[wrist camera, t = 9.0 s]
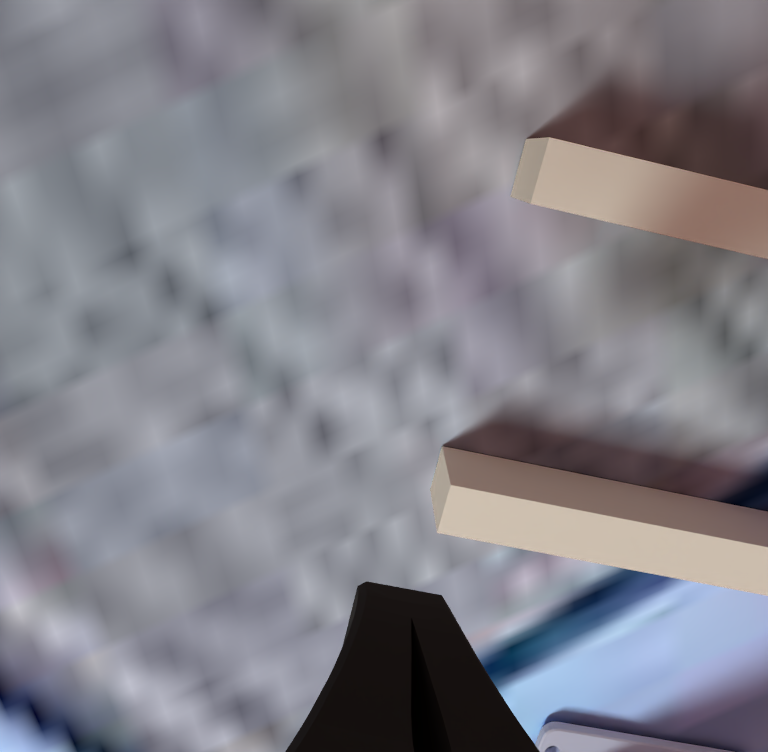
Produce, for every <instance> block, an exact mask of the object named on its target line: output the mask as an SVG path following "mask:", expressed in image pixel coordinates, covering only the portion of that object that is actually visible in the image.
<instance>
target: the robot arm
mask: <svg viewBox="0 0 768 752" xmlns="http://www.w3.org/2000/svg"><path fill="white" fill-rule="evenodd" d="M550 746H554V747H552V748H548V747H550ZM286 752H733V751H727V750H721V749H715V748H710V747H704V746H698V745H692V744H686V743H680V742H674V741H668V740H663V739H657V738H651V737H645V736H639V735H633V734H627V733H621V732H615V731H610V730H604V729H598V728H592V727H586V726H580V725H574V724H568V723H563V722H550V723H547V724H546V725H544V726H543V727H542V729H541V730H540V732H539V735H538V738H537V740H536V743H535V744H534V743H533V741H532V740H531V739H530V737H529V736H528V734H527V733H526V732H525V730H524V729H523V728H522V726H521V725H520V723H519V722H518V720H517V719H516V717H515V716H514V714H513V713H512V711H511V710H510V708H509V707H508V705H507V704H506V702H505V701H504V699H503V697H502V696H501V694H500V693H499V691H498V690H497V688H496V686H495V685H494V683H493V682H492V680H491V679H490V677H489V675H488V674H487V672H486V671H485V669H484V667H483V666H482V664H481V662H480V661H479V659H478V657H477V656H476V654H475V652H474V650H473V649H472V647H471V645H470V644H469V642H468V640H467V638H466V637H465V635H464V633H463V631H462V630H461V628H460V626H459V624H458V623H457V621H456V619H455V617H454V615H453V614H452V612H451V610H450V608H449V607H448V605H447V603H446V602H445V600H444V598H443V597H442V595H437V594H432V593H426V592H421V591H415V590H410V589H404V588H399V587H394V586H388V585H383V584H377V583H372V582H365V583H363V584H361V585H359V586H358V587H357V591H356V595H355V599H354V603H353V607H352V611H351V615H350V619H349V623H348V627H347V631H346V635H345V639H344V644H343V647H342V650H341V652H340V654H339V657H338V659H337V661H336V664H335V666H334V668H333V670H332V672H331V674H330V676H329V678H328V680H327V682H326V684H325V686H324V687H323V689H322V691H321V693H320V695H319V697H318V699H317V700H316V702H315V704H314V706H313V708H312V710H311V711H310V713H309V715H308V717H307V718H306V720H305V722H304V723H303V725H302V727H301V728H300V730H299V731H298V733H297V735H296V736H295V738H294V739H293V741H292V743H291V744H290V746H289V747H288V749H287V750H286Z"/></svg>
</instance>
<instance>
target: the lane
mask: <svg viewBox="0 0 768 752" xmlns="http://www.w3.org/2000/svg"><path fill="white" fill-rule="evenodd" d="M510 197H513V198H516V199H518V200H521V201H524V202H527V203H530V204H534V205H538V206H542V207H547V208H551V209H555V210H560V211H564V212H568V213H572V214H577V215H581V216H585V217H590V218H594V219H598V220H602V221H607V222H611V223H615V224H620V225H624V226H628V227H632V228H637V229H641V230H645V231H650V232H654V233H658V234H662V235H667V236H671V237H675V238H680V239H684V240H688V241H692V242H697V243H701V244H705V245H710V246H714V247H718V248H722V249H727V250H731V251H735V252H740V253H744V254H748V255H752V256H757V257H761V258H765V259H768V190H765V189H761V188H757V187H753V186H749V185H745V184H740V183H736V182H732V181H728V180H724V179H720V178H716V177H712V176H707V175H703V174H699V173H695V172H691V171H687V170H683V169H678V168H674V167H670V166H666V165H662V164H658V163H654V162H650V161H645V160H641V159H637V158H633V157H629V156H625V155H621V154H617V153H612V152H608V151H604V150H600V149H596V148H592V147H588V146H583V145H579V144H575V143H571V142H567V141H563V140H559V139H555V138H550V137H546V138H533V139H526V141H525V145H524V149H523V152H522V156H521V160H520V163H519V167H518V170H517V174H516V178H515V181H514V185H513V189H512V192H511V196H510ZM430 491H431V497H432V504H433V510H434V516H435V522H436V529H437V533H441V534H446V535H451V536H457V537H462V538H467V539H472V540H478V541H483V542H488V543H493V544H499V545H504V546H509V547H514V548H520V549H525V550H530V551H535V552H541V553H546V554H551V555H556V556H562V557H567V558H572V559H577V560H583V561H588V562H593V563H598V564H604V565H609V566H614V567H619V568H625V569H630V570H635V571H640V572H646V573H651V574H656V575H661V576H667V577H672V578H677V579H682V580H688V581H693V582H698V583H703V584H709V585H714V586H719V587H724V588H730V589H735V590H740V591H745V592H751V593H756V594H761V595H766V596H768V512H767V511H762V510H757V509H752V508H747V507H742V506H737V505H732V504H727V503H722V502H717V501H712V500H708V499H703V498H698V497H693V496H688V495H683V494H678V493H673V492H668V491H663V490H658V489H653V488H648V487H643V486H638V485H633V484H628V483H623V482H618V481H613V480H608V479H603V478H598V477H593V476H588V475H583V474H578V473H573V472H568V471H563V470H558V469H553V468H549V467H544V466H539V465H534V464H529V463H524V462H519V461H514V460H509V459H504V458H499V457H494V456H489V455H484V454H479V453H474V452H469V451H464V450H459V449H454V448H449V447H444V446H442V448H441V452H440V455H439V459H438V463H437V466H436V470H435V474H434V477H433V481H432V485H431V488H430Z"/></svg>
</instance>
